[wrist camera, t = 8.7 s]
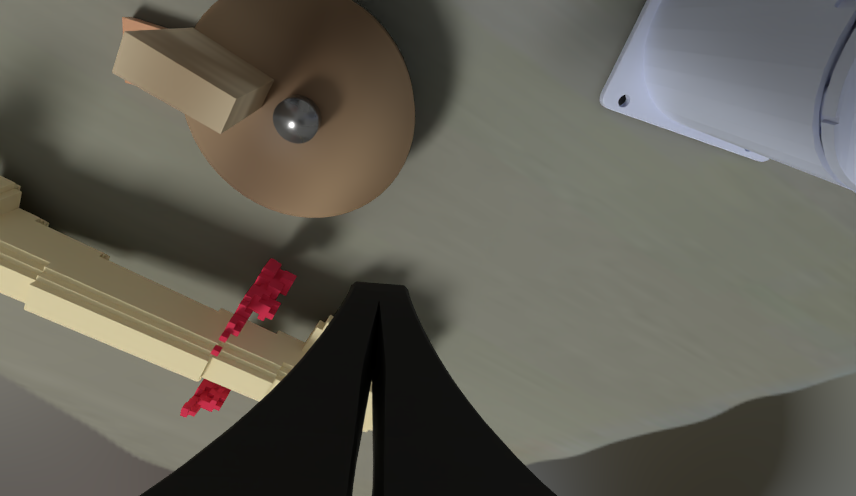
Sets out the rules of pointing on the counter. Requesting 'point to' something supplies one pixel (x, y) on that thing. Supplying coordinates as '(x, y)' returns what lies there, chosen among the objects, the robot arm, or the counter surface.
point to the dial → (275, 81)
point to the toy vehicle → (149, 311)
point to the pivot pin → (297, 119)
